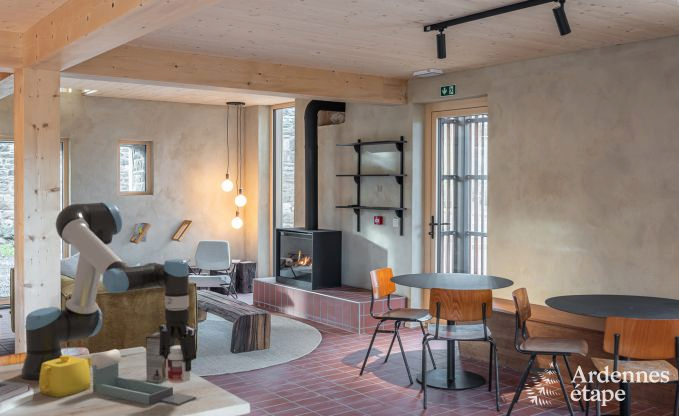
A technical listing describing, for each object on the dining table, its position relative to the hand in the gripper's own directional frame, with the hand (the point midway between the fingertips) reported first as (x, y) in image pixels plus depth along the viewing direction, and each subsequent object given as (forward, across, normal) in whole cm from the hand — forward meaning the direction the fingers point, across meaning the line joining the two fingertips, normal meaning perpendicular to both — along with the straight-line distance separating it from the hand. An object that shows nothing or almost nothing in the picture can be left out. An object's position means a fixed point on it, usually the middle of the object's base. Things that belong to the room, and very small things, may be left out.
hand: (178, 379), depth 235 cm
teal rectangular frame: (+7, -17, -3) cm, 19 cm away
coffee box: (+7, -22, +15) cm, 28 cm away
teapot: (+7, -40, -10) cm, 42 cm away
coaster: (+7, 0, 0) cm, 7 cm away
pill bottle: (+1, 0, 0) cm, 1 cm away
